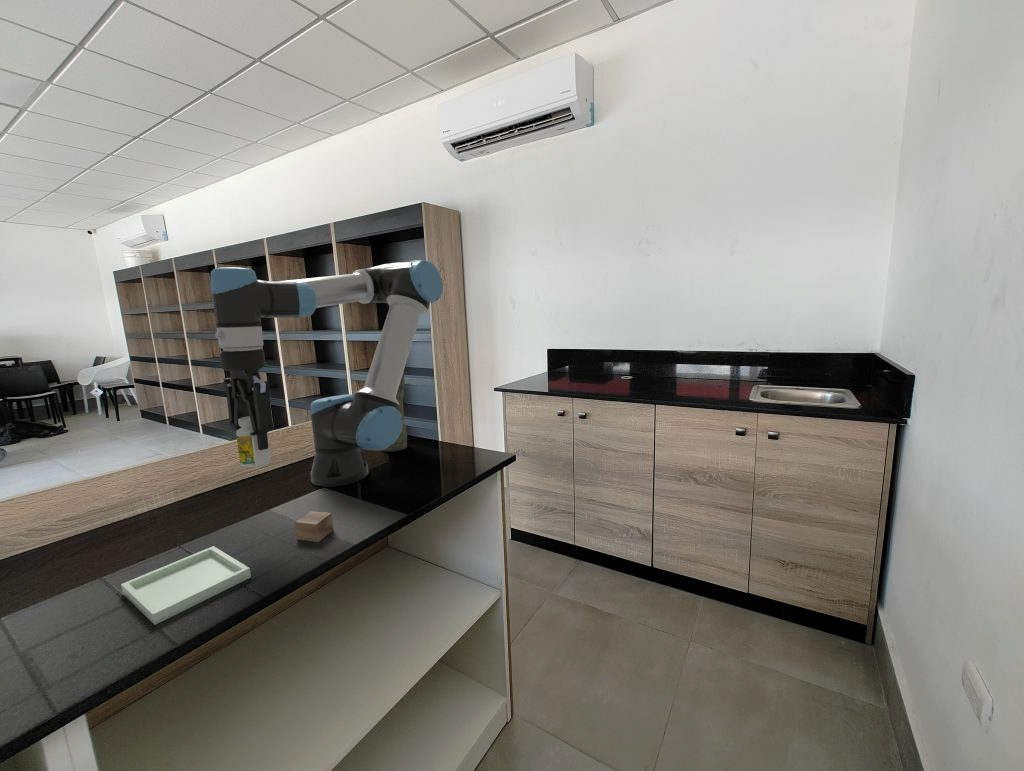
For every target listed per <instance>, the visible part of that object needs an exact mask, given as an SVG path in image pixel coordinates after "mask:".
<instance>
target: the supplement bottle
mask: <svg viewBox="0 0 1024 771" xmlns="http://www.w3.org/2000/svg"><path fill="white" fill-rule="evenodd" d="M238 422H239V426H240V427H241V428H240V429H238V430H236V433H235V434H236V435H235V437H236V442H237V443H236V444H237V450H238V456H239V459H238V460H239V464H240V466H241V467H243V468H254V467H255V468H257V467H256V466H255V461H254V453H253V444H252V436H251V435H250V433H253V428H252V424H251V420H250V416H248V417H243V418H240V419H238Z"/></svg>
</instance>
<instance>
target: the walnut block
mask: <svg viewBox="0 0 1024 771" xmlns="http://www.w3.org/2000/svg"><path fill="white" fill-rule="evenodd" d="M294 524H295V532H296V533H295V534H296V540H299V541H306V542H307V541H308V542H316V543H319V542H320V541H321V540H323V539H324V538H325V537H326V536H328V535H329V534H330V533H331V532H333V531H334V524H333V513H332V512H325V511H316V510H315V511H313V510H311V511H309V512H308V513H307V514H305V515H304V516H302V517H300V518H299V519H298V520H296V521H295V522H294Z"/></svg>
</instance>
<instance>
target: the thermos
mask: <svg viewBox="0 0 1024 771" xmlns="http://www.w3.org/2000/svg"><path fill="white" fill-rule="evenodd" d="M404 390H406V384H405V370H404V371H403V375H402V378H401V381H400V384H399V388H398V391H397V394H396V399H397V401H398V402H399V408H398V411H399V412H400V414H401V416H402V418H401V420H402V421H403V425H402V430H401V433H400V435H399V437H398V439H397V440H396V441H395V442H394V443H393V444H392V445H391V446H389V447H388V448H386V449H384V450H381V451H383V452H388V453H394V452H399V451H403V450H405V449H407V448H408V442H407V441H408V433H407V426H406V424H405V413H404V401H403V400H404V397H405V391H404Z"/></svg>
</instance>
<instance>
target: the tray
mask: <svg viewBox="0 0 1024 771" xmlns="http://www.w3.org/2000/svg"><path fill="white" fill-rule="evenodd" d="M251 578H252V575H251V569H250V567H249V566H247V565H246V564H244V563H242V562H241V561H239V560H237V559H236V558H234V557H233V556H230V555H229V554H227V553H226V552H224V551H223V550H221V549H219V548H217V547H216V546H215V545H213V546H210V547H208V548H205V549H202V550H201V551H198V552H196V553H193V554H190V555H189V556H186V557H183V558H181V559H179V560H177V561H174V562H171V563H169V564H167V565H164V566H162V567H159V568H157V569H154V570H152V571H149V572H146V573H144V574H142V575H139V576H138V577H136V578H133V579H130V580H128V581H126V582H122V583H121V584H120V586H121V591H122V594H123V596H124V597H125V598H127V600H128V601H129V602H131V603H132V604H133V605H134V606H135V607H136V608H137V609H138V610H139V611H140V613H142V614H143V615H144V616H145V617H146V618H147V619H148V620H149V621H150V622H151V623H152V624H153V625H154V626H155V625H158V624H160V623H162V622H163V621H166V620H169V619H170V618H172V617H174V616H176V615H178V614H180V613H182V612H185V611H186V610H188V609H190V608H192V607H194V606H196V605H199V604H200V603H202V602H204V601H206V600H208V599H210V598H213V597H214V596H216V595H218V594H220V593H222V592H225V591H226V590H228V589H230V588H232V587H235V586H237V585H238V584H241V583H242V582H243V583H244V581H247V580H248V579H251Z"/></svg>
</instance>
